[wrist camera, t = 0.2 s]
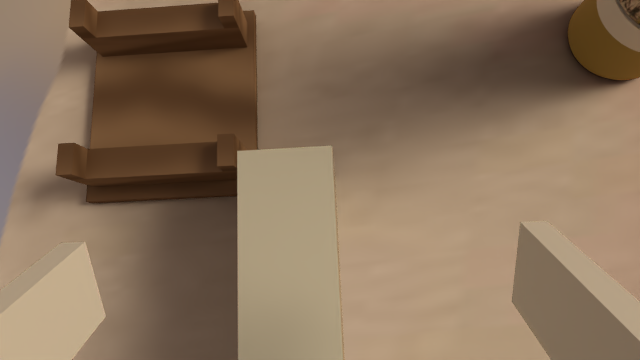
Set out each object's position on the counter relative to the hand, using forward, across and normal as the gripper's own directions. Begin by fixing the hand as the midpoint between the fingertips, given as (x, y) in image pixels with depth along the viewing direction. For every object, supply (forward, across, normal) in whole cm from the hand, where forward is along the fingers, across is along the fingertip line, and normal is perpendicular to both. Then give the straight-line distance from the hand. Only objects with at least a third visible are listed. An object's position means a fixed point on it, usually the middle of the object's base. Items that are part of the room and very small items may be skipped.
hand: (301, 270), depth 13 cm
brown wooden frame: (+20, +10, -2) cm, 23 cm away
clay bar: (+13, +1, +10) cm, 16 cm away
